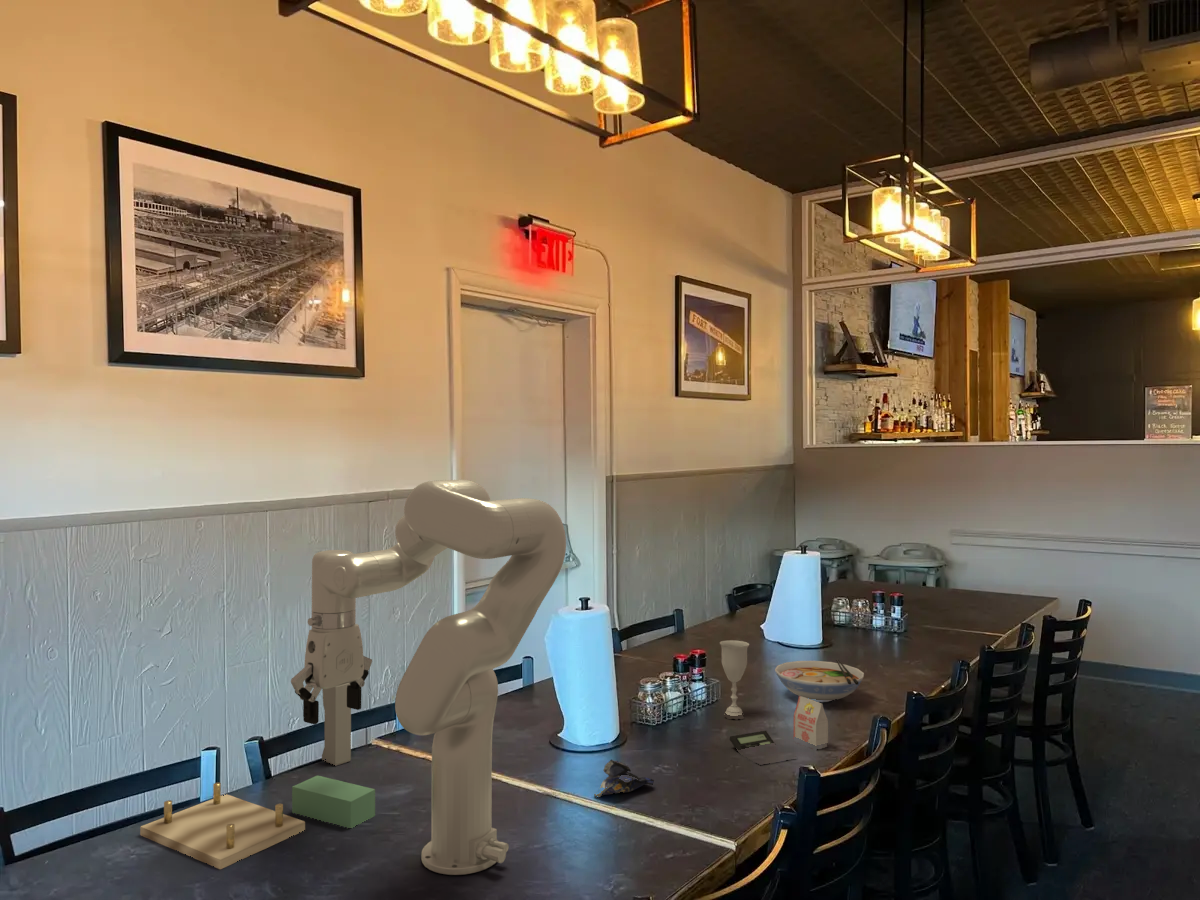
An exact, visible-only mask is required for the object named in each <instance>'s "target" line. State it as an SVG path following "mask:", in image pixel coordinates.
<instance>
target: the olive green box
mask: <svg viewBox="0 0 1200 900" xmlns="http://www.w3.org/2000/svg"><path fill="white" fill-rule="evenodd" d="M291 813H292V814H294V813H296V814H295V815H297V814H300V815H299V816H301V815H304V816H303V817H305V816H307V817H306V818H308V817H310V818H309V819H312V818H314V819H313V820H315V819H317V820H316V821H319V820H321V821H320V822H323V821H324V822H323V823H326V822H329V823H328V824H330V823H333V824H332V825H334V824H337V825H340V826H339V827H341V826H344V827H343V828H345V827H347V828H346V829H348V828H352V829H353V827H354V828H356V827H357V826H356V825H358V824H359V825H361V824H363V823H364V821H365V822H366V820H367V821H368V819H369V820H371V819H372V818H373V817H375V816H376V788H371V787H367V786H362V785H359V784H354V783H351V782H346V781H342V780H338V779H335V778H330V777H326V776H321V775H315V776H313V777H310V778H309V779H306V780H304V781H302V782H299V783H298V784H295V785H293V786H291ZM362 822H363V823H362ZM337 825H336V826H337ZM359 825H358V826H359ZM355 826H356V827H355Z"/></svg>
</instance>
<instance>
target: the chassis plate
mask: <svg viewBox="0 0 1200 900" xmlns="http://www.w3.org/2000/svg"><path fill="white" fill-rule="evenodd" d="M212 786H213V789H212V791H213V793H212V794H213V797H212V799H209V800H206V801H203V802H201V803H199V804H196V805H193V806H191V807H188V808H186V809H183V810H179V811H177V812H175V813H173V801H172V800H166V801H164V802H163V817H162V818H159V819H157V820H154V821H151V822H149V823H146V824H143V825H141V826H140V827H139V830H140V832H139V834H140V836H141V837H144V838H146V839H148V840H150V841H153V842H155V843H157V844H159V845H162V846H164V847H167V848H169V849H172V850H173V851H176V850H177V851H176V852H178V851H179V853H181V854H183V855H185V854H186V856H189V857H190V856H191V858H192V857H193V859H195V860H197V861H200V862H202V863H205V864H206V863H207V865H210V866H211V867H213V866H214V868H216V869H218V870H222V869H224V868H227V867H229V866H231V865H233V864H235V863H237V861H238V862H240V861H242V860H244V859H246V858H249V857H250V855H251V856H252V855H254V854H257V853H260V852H261V851H263V850H266V849H268V848H270V847H272V846H275V845H277V844H278V843H280V842H283V841H285V840H288V839H290V838H292V837H294V836H296V835H298V834H300V833H303V832H305V831H306V821H305V820H301V819H298V818H296V817H293V816H290V815H287V814H284V804H283V803H277V804H275V806H274V807H275V808H274V809H275V810H273V809H270V808H267V807H264V806H262V805H259V804H256V803H253V802H249V801H246V800H245V799H241V798H238V797H235V796H233V795H230V794H228V793H225V794H226V795H225V794H222V792H221V790H222V789H221V782H214V783H213V785H212ZM223 795H224V796H223ZM304 830H305V831H304ZM302 831H303V832H302ZM299 832H300V833H299ZM293 835H294V836H293ZM291 836H292V837H291ZM289 837H290V838H289ZM241 859H242V860H241ZM239 860H240V861H239Z"/></svg>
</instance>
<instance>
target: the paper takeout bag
mask: <svg viewBox="0 0 1200 900" xmlns="http://www.w3.org/2000/svg"><path fill="white" fill-rule="evenodd" d="M823 704H824V703H819V702H816V701H814V700H811V699H808V698H805V697H802V696H798V699H797V703H796V707H795V710H794V714H793V738H794V737H796V738H799V739H801V740H803V741H805V742H808V743H810V744H813V745H815V746H817V745H821V744H825V743H828V744H829V720H828V716H827V715H826V712H825V709H824V705H823Z"/></svg>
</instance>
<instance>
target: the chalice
mask: <svg viewBox="0 0 1200 900" xmlns="http://www.w3.org/2000/svg"><path fill="white" fill-rule="evenodd" d="M719 646H720V647H721V665H722V669H723V671H724V673H725V675H726V677H727V680H728V681H730V682H731V688H730V691H731V692H732V693H731V695H730V698H731V701H732V702H731V704H730V706H727V708H726V711H725V712H724V714H725V713H726V714H727V715H730V716H738V715H742V713H743V714H744V712H743V710H742V708H741V707H740V706H738V705H737V700H738V698H739V697H738V696H737V691H738V687H737V683H738V682H740V681H741V679H742V677H743V675H744V673H745V671H746V669H747V666H748V647H749V646H750V643H749V642H746V641H743V640H733V639H730V640H722V641H720V642H719Z"/></svg>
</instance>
